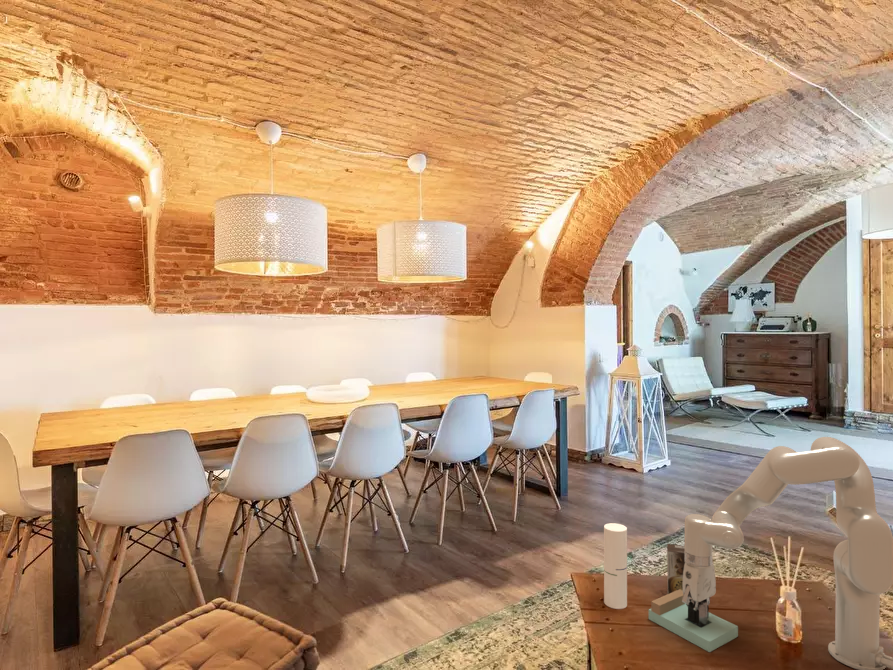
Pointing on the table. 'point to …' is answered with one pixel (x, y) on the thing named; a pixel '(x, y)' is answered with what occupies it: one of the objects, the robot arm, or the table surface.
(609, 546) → the cylindrical container
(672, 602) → the jig
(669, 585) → the coffee box
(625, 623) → the table surface
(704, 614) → the grey upright block
